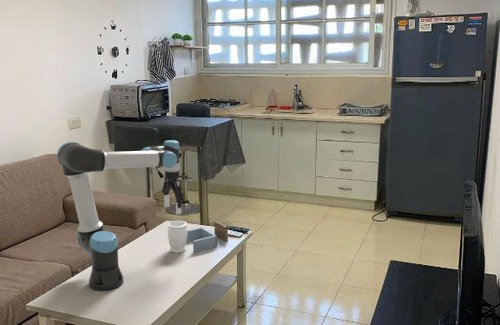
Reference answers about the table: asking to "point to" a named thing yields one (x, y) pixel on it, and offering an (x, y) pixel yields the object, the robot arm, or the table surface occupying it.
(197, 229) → the grey shallow box
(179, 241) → the jar
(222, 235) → the block
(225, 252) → the table surface
